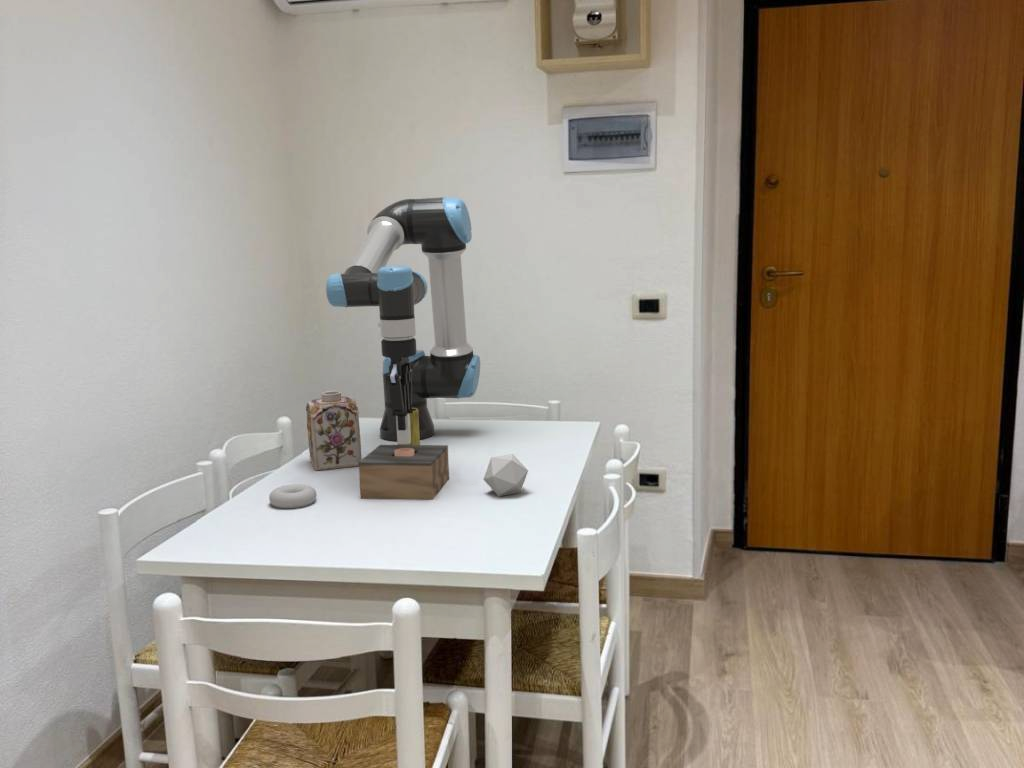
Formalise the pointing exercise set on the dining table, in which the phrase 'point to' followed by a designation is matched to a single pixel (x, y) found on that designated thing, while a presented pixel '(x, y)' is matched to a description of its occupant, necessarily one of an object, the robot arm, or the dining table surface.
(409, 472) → the socket block
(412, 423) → the vase
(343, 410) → the decorative jar
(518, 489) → the die
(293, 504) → the donut
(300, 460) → the dining table surface
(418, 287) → the robot arm
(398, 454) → the peg
